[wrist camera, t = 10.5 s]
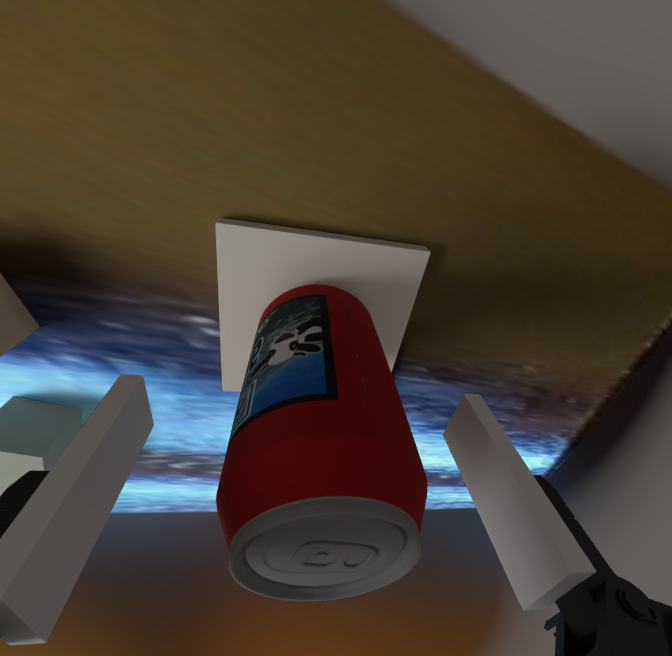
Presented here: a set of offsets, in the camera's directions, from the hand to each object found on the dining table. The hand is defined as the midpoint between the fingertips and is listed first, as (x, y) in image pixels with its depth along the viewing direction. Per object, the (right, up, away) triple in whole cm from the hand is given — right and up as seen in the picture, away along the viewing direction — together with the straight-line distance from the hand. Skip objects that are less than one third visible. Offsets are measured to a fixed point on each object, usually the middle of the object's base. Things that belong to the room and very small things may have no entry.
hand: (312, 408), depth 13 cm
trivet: (0, +4, +6) cm, 7 cm away
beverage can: (0, +3, +6) cm, 7 cm away
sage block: (-20, -4, +10) cm, 22 cm away
